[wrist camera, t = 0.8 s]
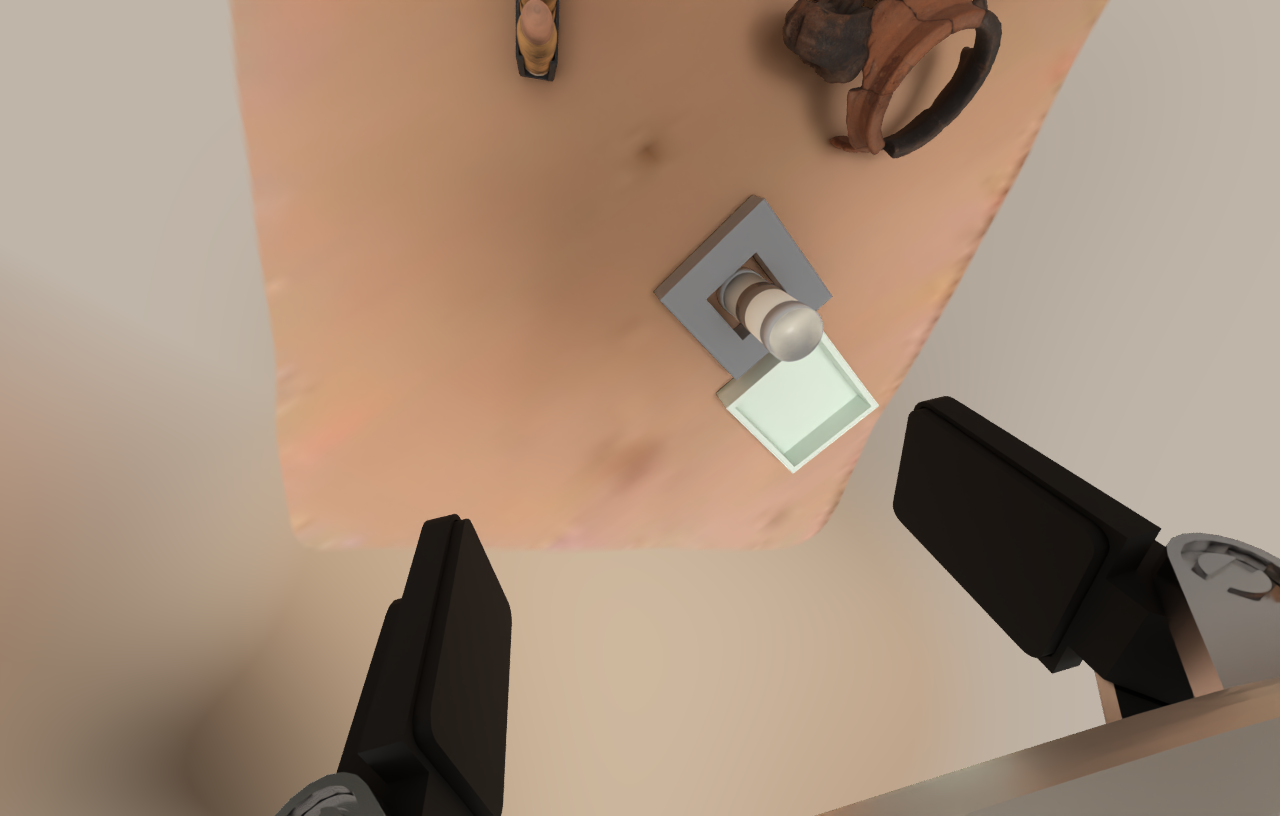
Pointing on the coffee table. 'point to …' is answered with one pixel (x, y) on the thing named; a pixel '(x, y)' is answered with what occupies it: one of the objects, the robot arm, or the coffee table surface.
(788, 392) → the parts tray
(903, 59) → the pottery mug
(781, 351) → the cylinder
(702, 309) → the socket block
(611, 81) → the coffee table surface
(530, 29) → the ammunition clip
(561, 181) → the coffee table surface
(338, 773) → the robot arm
